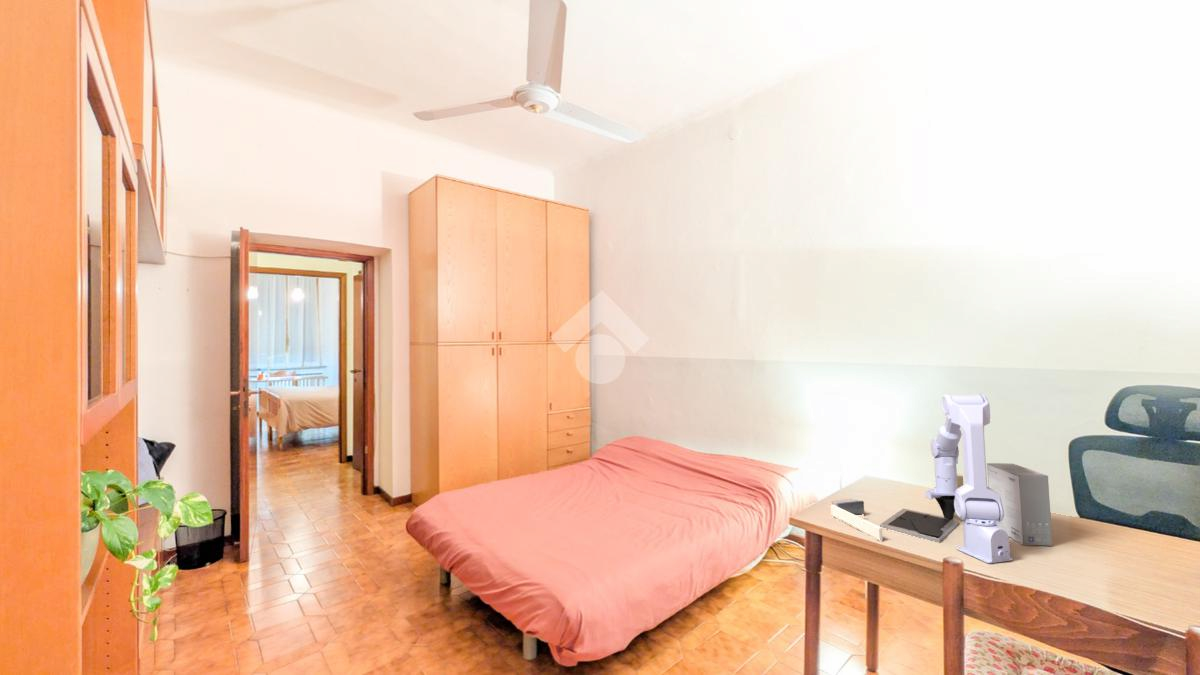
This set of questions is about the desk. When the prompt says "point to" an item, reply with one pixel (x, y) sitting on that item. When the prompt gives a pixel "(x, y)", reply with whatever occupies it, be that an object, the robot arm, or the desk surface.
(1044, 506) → the hard drive box
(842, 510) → the shelf wall
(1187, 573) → the desk surface
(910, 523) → the picture frame
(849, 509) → the bookend
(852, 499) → the orange and blue block
